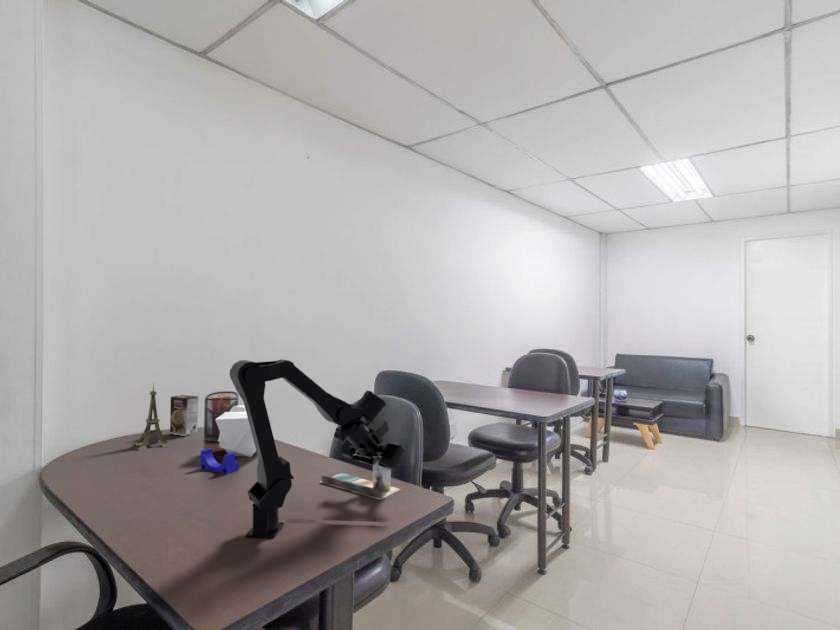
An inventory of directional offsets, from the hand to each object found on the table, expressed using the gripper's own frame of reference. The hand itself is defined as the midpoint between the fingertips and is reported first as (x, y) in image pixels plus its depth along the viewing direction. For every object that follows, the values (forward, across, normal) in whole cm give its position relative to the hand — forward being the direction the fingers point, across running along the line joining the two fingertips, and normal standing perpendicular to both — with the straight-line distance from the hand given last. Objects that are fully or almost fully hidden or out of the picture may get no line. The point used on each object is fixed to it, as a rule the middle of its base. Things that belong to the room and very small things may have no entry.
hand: (384, 466), depth 126 cm
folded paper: (+4, +63, +6) cm, 64 cm away
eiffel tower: (-5, +103, +16) cm, 104 cm away
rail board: (+3, +7, +7) cm, 10 cm away
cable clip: (-6, +55, +16) cm, 58 cm away
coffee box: (+6, +110, +4) cm, 110 cm away
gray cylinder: (+3, 0, +5) cm, 6 cm away
